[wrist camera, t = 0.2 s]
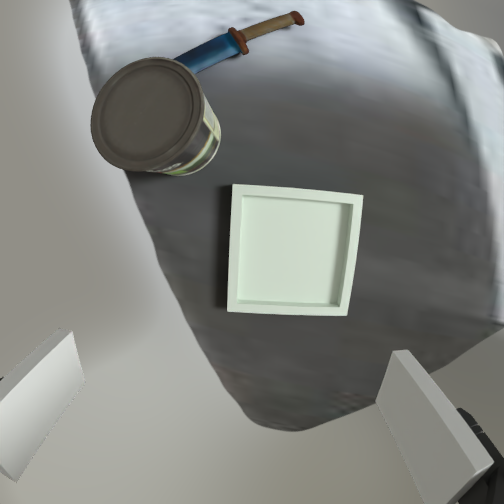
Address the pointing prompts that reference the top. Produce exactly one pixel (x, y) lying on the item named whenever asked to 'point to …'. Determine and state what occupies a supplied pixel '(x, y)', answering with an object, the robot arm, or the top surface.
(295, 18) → the knife
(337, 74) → the top surface
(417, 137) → the top surface
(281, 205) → the tray
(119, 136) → the coffee can
